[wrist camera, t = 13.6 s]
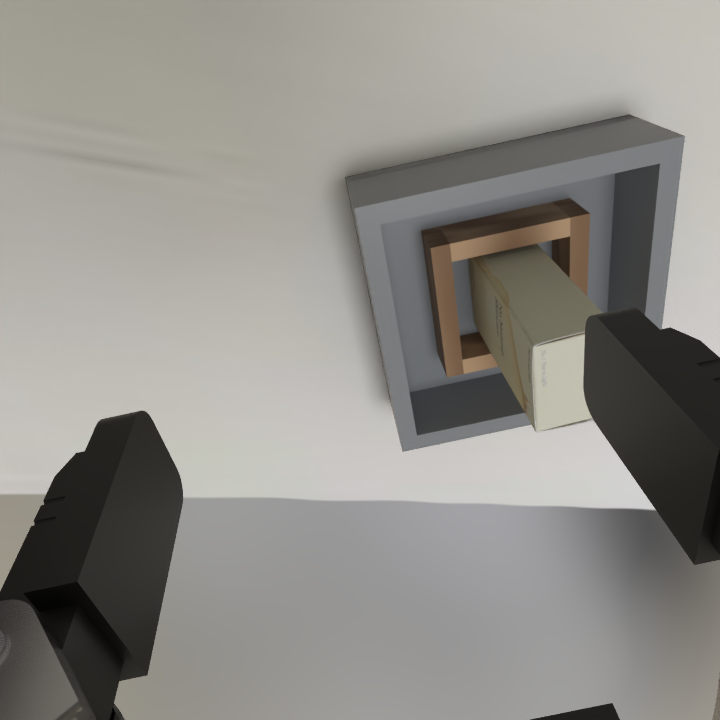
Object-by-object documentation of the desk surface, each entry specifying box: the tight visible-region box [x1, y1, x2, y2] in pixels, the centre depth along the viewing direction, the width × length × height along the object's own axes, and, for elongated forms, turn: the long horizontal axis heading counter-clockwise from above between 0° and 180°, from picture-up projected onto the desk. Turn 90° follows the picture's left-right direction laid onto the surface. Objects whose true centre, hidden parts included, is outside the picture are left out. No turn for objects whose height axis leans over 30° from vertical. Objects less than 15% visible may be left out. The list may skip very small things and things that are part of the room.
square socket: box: [421, 198, 590, 377], centre depth 39 cm, size 10×10×3 cm
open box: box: [345, 115, 685, 452], centre depth 39 cm, size 18×18×6 cm
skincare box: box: [468, 244, 603, 432], centre depth 35 cm, size 6×4×12 cm
